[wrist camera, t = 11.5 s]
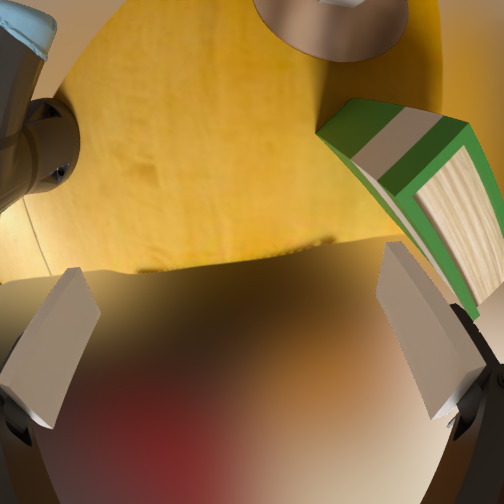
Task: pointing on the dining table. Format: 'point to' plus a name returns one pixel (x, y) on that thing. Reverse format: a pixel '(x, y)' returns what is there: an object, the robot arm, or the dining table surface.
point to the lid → (336, 26)
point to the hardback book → (428, 188)
